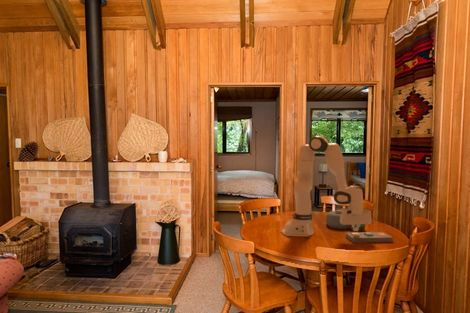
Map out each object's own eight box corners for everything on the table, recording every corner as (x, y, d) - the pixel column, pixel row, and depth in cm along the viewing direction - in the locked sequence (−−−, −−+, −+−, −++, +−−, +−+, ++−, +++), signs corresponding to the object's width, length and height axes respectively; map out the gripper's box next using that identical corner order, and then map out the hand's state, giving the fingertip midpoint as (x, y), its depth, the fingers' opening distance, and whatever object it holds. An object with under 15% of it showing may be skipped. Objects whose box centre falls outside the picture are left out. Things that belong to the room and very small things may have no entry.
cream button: (353, 237, 194) (353, 234, 194) (351, 235, 198) (351, 232, 198) (359, 237, 194) (359, 234, 194) (356, 235, 198) (356, 232, 198)
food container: (348, 230, 216) (348, 217, 215) (348, 228, 222) (348, 215, 221) (367, 232, 211) (367, 218, 211) (366, 230, 217) (366, 216, 217)
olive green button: (367, 237, 194) (367, 234, 194) (364, 235, 198) (364, 232, 198) (373, 236, 194) (373, 234, 194) (370, 235, 198) (370, 232, 198)
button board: (353, 242, 190) (353, 238, 190) (345, 237, 202) (345, 232, 202) (392, 241, 191) (392, 237, 191) (382, 236, 203) (382, 231, 203)
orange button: (380, 238, 195) (380, 235, 194) (377, 236, 199) (377, 233, 198) (386, 238, 195) (386, 235, 195) (383, 236, 199) (383, 233, 199)
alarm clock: (358, 226, 226) (358, 211, 225) (339, 230, 217) (339, 214, 216) (339, 221, 243) (339, 206, 242) (321, 224, 234) (321, 209, 234)
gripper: (368, 208, 199) (368, 228, 199) (338, 209, 198) (339, 229, 198) (373, 210, 192) (373, 231, 193) (342, 211, 191) (342, 232, 192)
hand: (355, 230), depth 196 cm, fingers closed
